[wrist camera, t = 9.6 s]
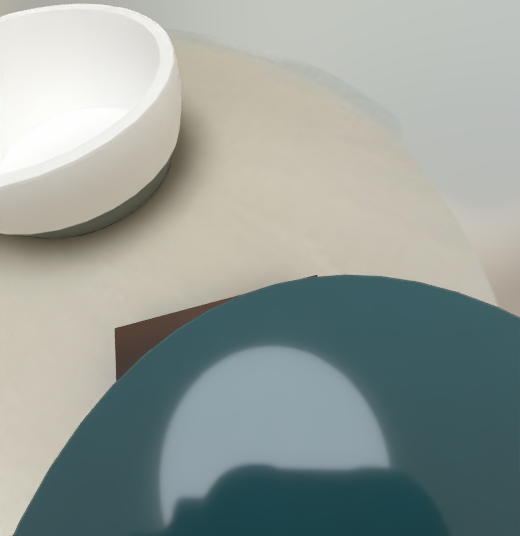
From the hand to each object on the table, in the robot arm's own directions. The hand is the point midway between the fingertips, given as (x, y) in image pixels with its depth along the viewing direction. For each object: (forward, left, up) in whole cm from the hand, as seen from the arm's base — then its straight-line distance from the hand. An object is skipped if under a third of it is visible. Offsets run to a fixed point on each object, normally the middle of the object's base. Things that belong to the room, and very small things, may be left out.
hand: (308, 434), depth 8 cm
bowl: (+27, +12, -12) cm, 32 cm away
